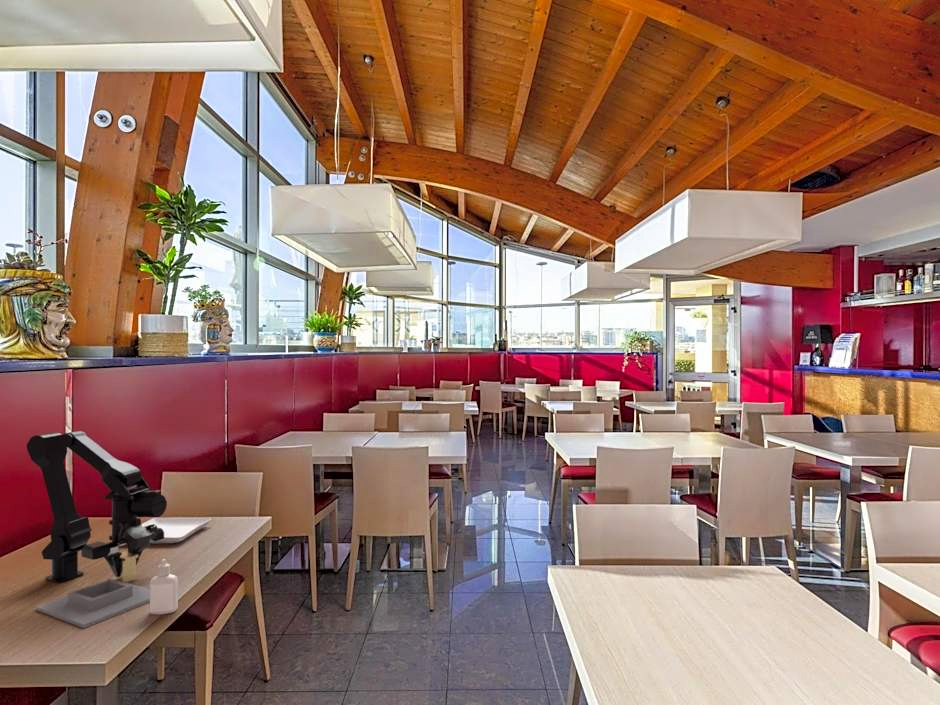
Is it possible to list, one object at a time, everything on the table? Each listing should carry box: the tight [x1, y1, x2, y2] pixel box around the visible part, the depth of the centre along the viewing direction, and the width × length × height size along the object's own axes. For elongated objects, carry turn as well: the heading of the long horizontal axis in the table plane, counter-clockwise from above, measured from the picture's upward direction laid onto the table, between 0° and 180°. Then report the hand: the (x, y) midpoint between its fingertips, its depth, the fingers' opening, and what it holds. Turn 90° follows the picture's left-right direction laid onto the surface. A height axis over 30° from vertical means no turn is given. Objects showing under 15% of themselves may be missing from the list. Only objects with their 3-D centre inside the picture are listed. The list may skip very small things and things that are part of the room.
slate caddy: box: [35, 578, 150, 629], centre depth 133 cm, size 20×18×3 cm
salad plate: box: [141, 517, 212, 544], centre depth 184 cm, size 21×21×3 cm
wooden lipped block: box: [113, 550, 138, 583], centre depth 147 cm, size 6×4×7 cm, turn 63°
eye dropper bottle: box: [149, 558, 179, 615], centre depth 128 cm, size 4×6×12 cm
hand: (124, 574), depth 147 cm, fingers closed on wooden lipped block, 3 cm apart
